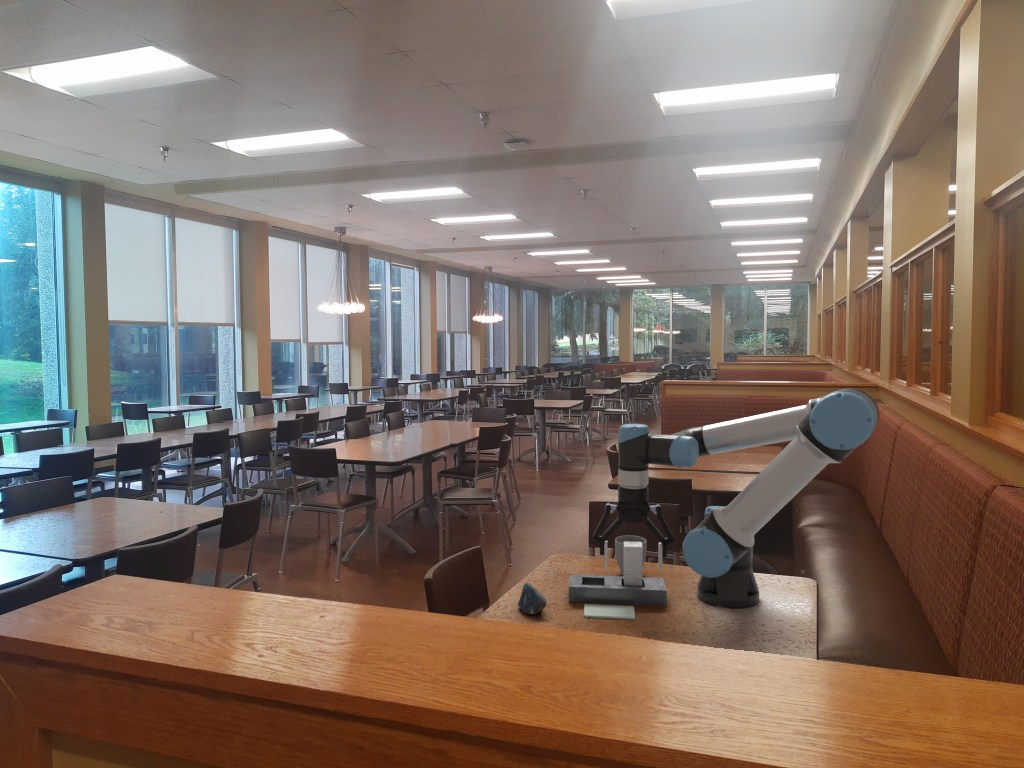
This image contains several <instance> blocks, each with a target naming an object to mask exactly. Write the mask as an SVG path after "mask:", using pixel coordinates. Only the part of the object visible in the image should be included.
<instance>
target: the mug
mask: <svg viewBox="0 0 1024 768" xmlns="http://www.w3.org/2000/svg"><path fill="white" fill-rule="evenodd" d="M624 541H625V542H642V547H643V555H642V569H643V568H644V565H645V562H646V558H647V548H648V547H647V546H648V541H647V539H646V538H644V537H642V536H639V535H631V534H630V535H629V534H628V535H620V536H617V537H615V539H614V551H615V558H616V563H617V565H618V567H619V570H620V574H621V575H623V576H624Z"/></svg>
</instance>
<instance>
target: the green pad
mask: <svg viewBox="0 0 1024 768" xmlns="http://www.w3.org/2000/svg"><path fill="white" fill-rule="evenodd" d="M635 612H636V611H635V605H619V604H596V603H584V607H583V618H588V617H590V618H591V619H592V618H593V619H611V620H612V619H613V620H615V619H616V620H632V621H633V620H634V621H635V620H636V613H635Z"/></svg>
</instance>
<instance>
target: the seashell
mask: <svg viewBox="0 0 1024 768" xmlns="http://www.w3.org/2000/svg"><path fill="white" fill-rule="evenodd" d="M517 605H518V607H519V609H520V610H521V611H522V612H524V613H525V614H527V615H530V616H531V615H536V614H539V613H540V612H541V611H542V610H544V609H545V607H546V606H547V599H546V597H545V596H544V595H543V594H542V593H541V592H540V590H538V589H537V588H536V587H535V586H534V585H533V584H532V583H529V582H525V583H524V584H523V586H522V591H521V594H520V596H519V599H518V603H517Z"/></svg>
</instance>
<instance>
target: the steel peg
mask: <svg viewBox="0 0 1024 768" xmlns="http://www.w3.org/2000/svg"><path fill="white" fill-rule="evenodd" d="M642 555H643V547H642V542H625V541H624V575H623V577H624V587H642V577H643V568H642Z"/></svg>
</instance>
